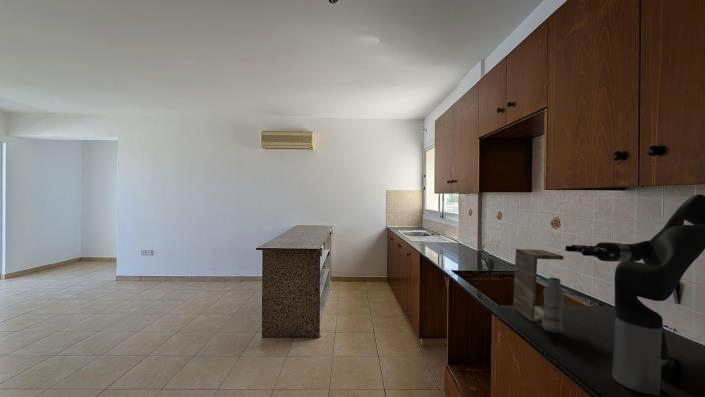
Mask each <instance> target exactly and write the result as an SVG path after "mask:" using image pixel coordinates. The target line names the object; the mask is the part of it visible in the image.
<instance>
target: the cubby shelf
mask: <svg viewBox="0 0 705 397" xmlns="http://www.w3.org/2000/svg"><path fill="white" fill-rule="evenodd" d="M538 260H559V261H561V260H564V256H563V255H560V254H558V253H554V252H550V251H547V250H544V249H543V250H542V249H524V248H523V249H522V248H521V249H520V248H515V259H514V261H515V263H514V282H513V300H512V301H513V302H512V309H513V310H514V311H516V312H518V313H519V314H520V315H522V316H523V317H525V318H526V319H527V320H529V321H531V322H542V319H543V316H544V309H545V308H542V307H541V306H536V292H537V291H536V290H537V273H538V272H537V270H538Z"/></svg>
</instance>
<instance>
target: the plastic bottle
mask: <svg viewBox="0 0 705 397" xmlns="http://www.w3.org/2000/svg"><path fill="white" fill-rule="evenodd" d="M547 283H548V284H547V285H546V286H545V287H544V288H543V305H544V308H543V309H544V316H543V319H542V321H541V326H542V328H543V329H544V330H545V331H546V332H549V333H552V334H561V333H562V332H563V330H564V322H563V315H562V314H563V312H562V311H563V303H564V298H565V293H564V292H565V291H564V290H563V289H562V287H561V284H562V283H561V279H560V278H557V277H548V281H547Z"/></svg>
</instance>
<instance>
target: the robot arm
mask: <svg viewBox="0 0 705 397" xmlns="http://www.w3.org/2000/svg"><path fill="white" fill-rule="evenodd" d="M685 222H688V223H689V224H685ZM564 251H565V252H570V253H580V254H582V256H583V257H584V256H586V257H593V258H597V259H598V260H599V261H601V262H619V263H618V264H617V265H616V268H615V272H614V309H615V319H614V320H615V322H614V323H615V324H614V337H613V338H614V340H613V356H612V369H611V372H612V374H611V375H612V376H611V377H612V378H613V380H614V381H616V382H617V383H618V384H620V385H622V386H623V387H626V388H627V389H630V390H632V391H635V392H639V393H642V394H647V395H655V396H657V397H660V395H661V379H662V378H661V377H662V366H661V365H662V360H661V342H662V326H663V322H664V321H663V320H664V319H663V316H662V315H661V314H660V313H659V312H657V311H655V310H653V309H652V308H650V307H649V306H647V305H646V304H644V303H643V302H642V301H641V300H640V299H639V298H643V299H646V300H651V301H655V302H665V301H666V300H668V299H669V298H670V297H671V296H672V295H673V292H674V291H675V290H676V288H677V286H678V285H679V283H680V282H681V280H682V277H683V276H684V275H685V273H686V272H687V270H688V269H689V267H690V266H691V265H692V264H693V263H694V262H695V261H696V260H697V259H698V258H699V256H700V255H701V254H702V253H703V252H704V251H705V194H700V193H698V194H697V193H696V194H694V195H692V196H690V197H689V198H688V199H687V200H685V201H684V202H683V203H682V204H681V205H680V206H679V207H678V208H677V209H676V210H675V211H674V213H673V214H672V215H671V216H670V218H669V219H668V221H667V222H666V224H665V225H664V226H663V227H662V228H661V229H660V231H659V232H657V233H656V234H655V235H654V236H653V237H651V239H650V240H642V241H640V242H636V243H620V242H606V241H604V242H601V241H600V242H598V243H597V244H596V245H585V244H582V245H581V244H580V245H579V244H572V245H566V246H565V250H564ZM641 260H642V261H643V262H639V261H641ZM663 327H664V326H663Z"/></svg>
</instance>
